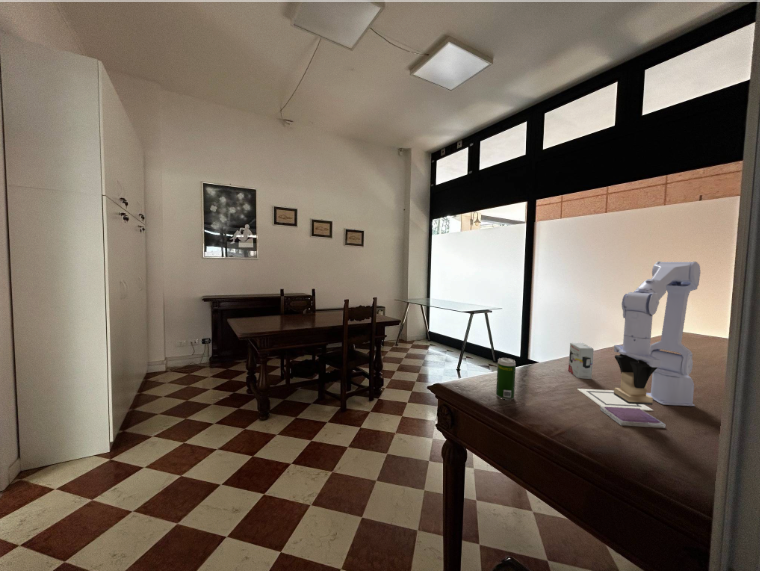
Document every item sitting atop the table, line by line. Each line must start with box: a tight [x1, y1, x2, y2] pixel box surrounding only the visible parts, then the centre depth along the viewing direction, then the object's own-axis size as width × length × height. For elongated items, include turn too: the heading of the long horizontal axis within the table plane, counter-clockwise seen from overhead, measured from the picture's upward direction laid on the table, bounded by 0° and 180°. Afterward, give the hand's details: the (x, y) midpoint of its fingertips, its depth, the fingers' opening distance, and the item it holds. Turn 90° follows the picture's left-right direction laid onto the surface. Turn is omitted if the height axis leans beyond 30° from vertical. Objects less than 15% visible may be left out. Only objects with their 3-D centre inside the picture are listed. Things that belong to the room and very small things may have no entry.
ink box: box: [567, 342, 595, 380], centre depth 120 cm, size 9×5×12 cm, turn 172°
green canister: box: [495, 357, 517, 401], centre depth 99 cm, size 5×5×12 cm
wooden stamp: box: [613, 372, 654, 406], centre depth 86 cm, size 6×6×7 cm
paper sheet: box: [576, 388, 654, 412], centre depth 99 cm, size 14×14×1 cm
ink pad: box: [599, 406, 666, 429], centre depth 86 cm, size 11×9×1 cm
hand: (633, 384), depth 86 cm, fingers closed on wooden stamp, 4 cm apart
